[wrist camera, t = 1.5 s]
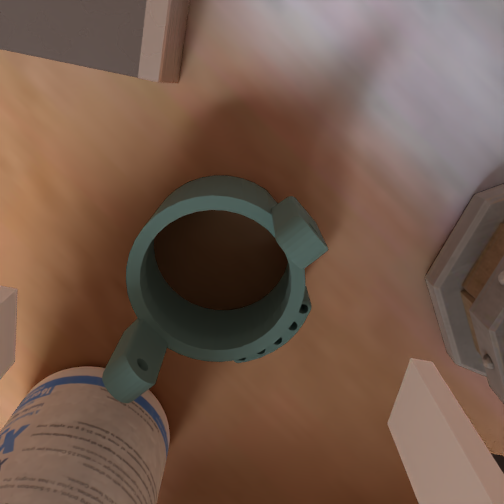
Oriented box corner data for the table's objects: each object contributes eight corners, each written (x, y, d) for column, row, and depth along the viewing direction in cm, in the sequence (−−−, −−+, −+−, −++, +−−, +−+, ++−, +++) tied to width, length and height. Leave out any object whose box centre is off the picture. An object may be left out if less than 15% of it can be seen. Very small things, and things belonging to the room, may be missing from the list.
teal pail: (140, 309, 28) (95, 405, 20) (157, 153, 25) (112, 189, 17) (290, 331, 29) (307, 434, 21) (323, 182, 26) (360, 230, 18)
